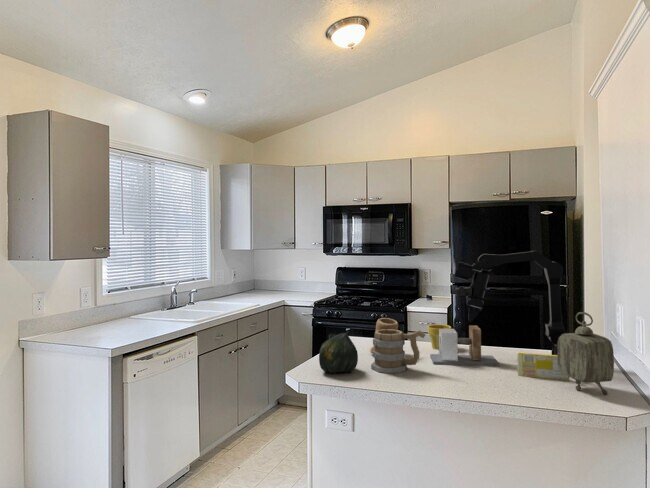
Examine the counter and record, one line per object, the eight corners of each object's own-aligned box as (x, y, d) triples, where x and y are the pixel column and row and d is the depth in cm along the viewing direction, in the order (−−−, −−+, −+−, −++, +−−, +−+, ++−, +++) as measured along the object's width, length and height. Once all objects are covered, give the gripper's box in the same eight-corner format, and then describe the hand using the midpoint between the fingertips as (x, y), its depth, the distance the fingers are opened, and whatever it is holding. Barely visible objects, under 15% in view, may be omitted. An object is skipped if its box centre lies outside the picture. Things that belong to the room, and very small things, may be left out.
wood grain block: (476, 355, 183) (476, 325, 183) (481, 360, 175) (480, 329, 175) (444, 354, 184) (444, 325, 184) (446, 359, 176) (446, 328, 176)
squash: (305, 355, 169) (325, 329, 162) (332, 350, 179) (351, 325, 173) (325, 387, 161) (347, 360, 155) (352, 379, 172) (373, 354, 166)
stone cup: (395, 358, 185) (395, 322, 185) (367, 356, 189) (367, 320, 189) (401, 349, 199) (401, 316, 199) (375, 348, 203) (375, 315, 203)
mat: (492, 357, 184) (492, 355, 184) (499, 365, 172) (499, 363, 172) (430, 356, 187) (430, 354, 187) (433, 364, 175) (433, 361, 175)
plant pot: (426, 349, 199) (425, 327, 199) (429, 344, 209) (429, 323, 209) (450, 351, 195) (449, 329, 195) (452, 346, 205) (452, 325, 205)
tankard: (368, 371, 166) (368, 331, 166) (376, 362, 178) (376, 325, 178) (423, 376, 159) (422, 334, 159) (427, 367, 171) (427, 328, 171)
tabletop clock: (614, 396, 137) (613, 315, 137) (589, 399, 135) (588, 316, 135) (578, 382, 151) (577, 308, 151) (555, 384, 150) (554, 309, 150)
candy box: (568, 379, 155) (568, 355, 155) (569, 381, 153) (569, 357, 153) (517, 374, 162) (517, 351, 162) (517, 375, 160) (517, 352, 160)
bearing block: (454, 355, 184) (453, 328, 184) (457, 361, 175) (457, 333, 175) (439, 355, 185) (438, 328, 185) (441, 360, 176) (441, 333, 176)
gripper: (459, 276, 195) (450, 311, 196) (459, 280, 177) (449, 318, 178) (486, 283, 192) (476, 318, 193) (488, 288, 174) (477, 326, 175)
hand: (469, 320), depth 185 cm, fingers open, 9 cm apart
